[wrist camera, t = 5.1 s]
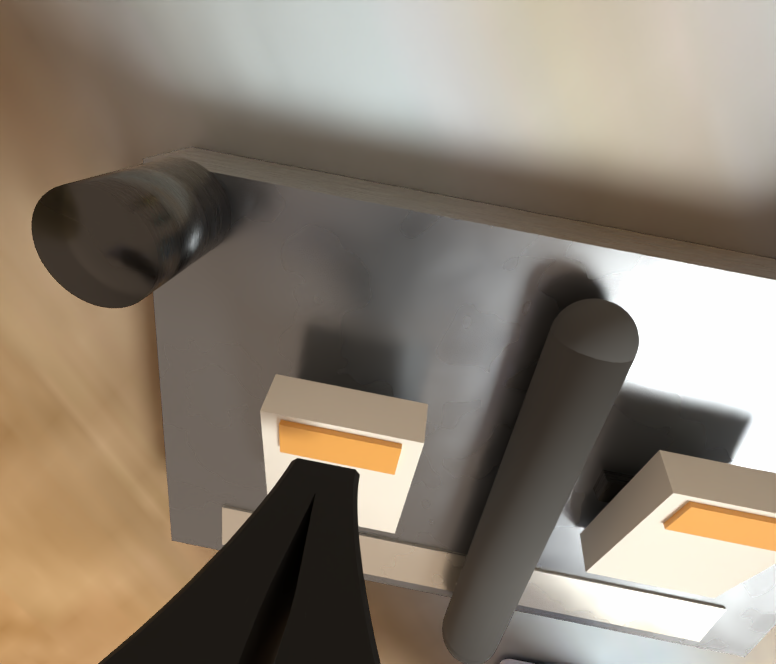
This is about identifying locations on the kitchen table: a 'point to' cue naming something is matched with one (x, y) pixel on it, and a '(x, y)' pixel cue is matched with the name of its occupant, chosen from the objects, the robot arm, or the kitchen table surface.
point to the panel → (424, 355)
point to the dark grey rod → (539, 469)
